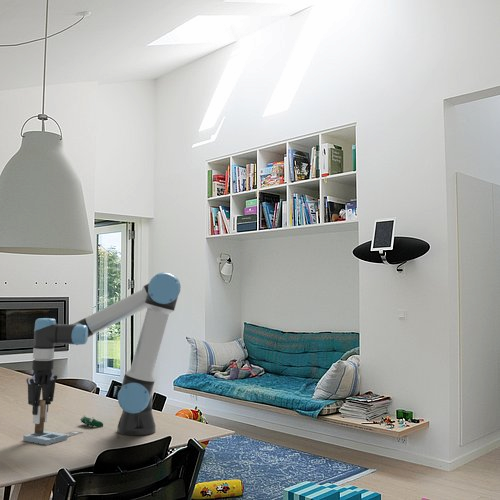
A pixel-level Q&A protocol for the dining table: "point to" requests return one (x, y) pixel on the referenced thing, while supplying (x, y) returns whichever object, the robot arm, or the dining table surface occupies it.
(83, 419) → the gaming controller
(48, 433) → the socket board
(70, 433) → the card
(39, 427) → the peg
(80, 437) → the dining table surface
